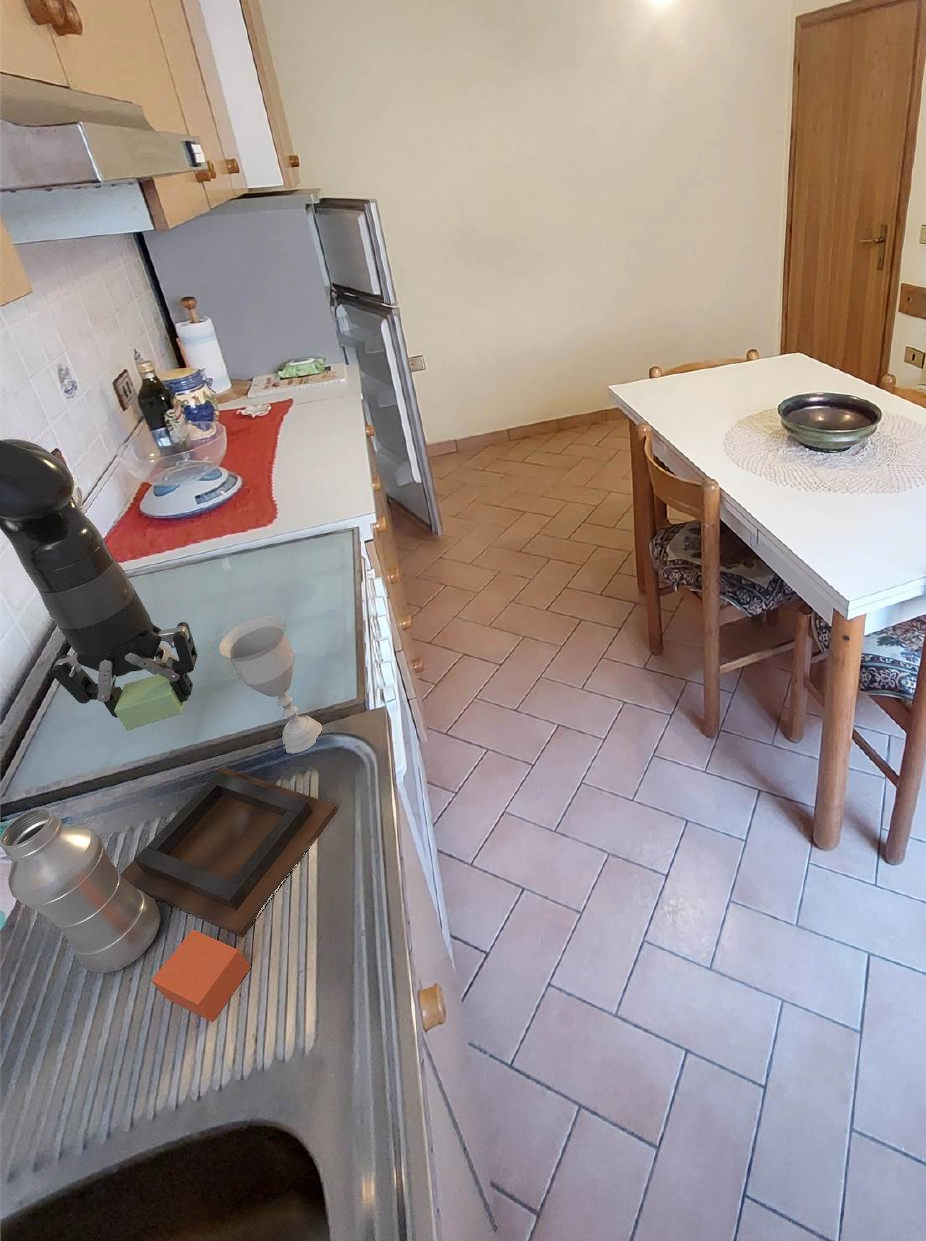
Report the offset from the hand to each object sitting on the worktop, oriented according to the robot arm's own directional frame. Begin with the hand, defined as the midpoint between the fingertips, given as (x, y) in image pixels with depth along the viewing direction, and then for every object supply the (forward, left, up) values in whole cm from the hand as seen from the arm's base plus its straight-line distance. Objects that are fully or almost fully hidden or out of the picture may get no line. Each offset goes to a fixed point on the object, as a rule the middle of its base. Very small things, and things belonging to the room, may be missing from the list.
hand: (156, 705), depth 84 cm
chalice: (+14, +6, -9) cm, 18 cm away
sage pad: (0, 0, -1) cm, 1 cm away
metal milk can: (+15, -19, -9) cm, 26 cm away
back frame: (+17, -8, -9) cm, 21 cm away
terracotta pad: (+26, -19, -9) cm, 33 cm away
